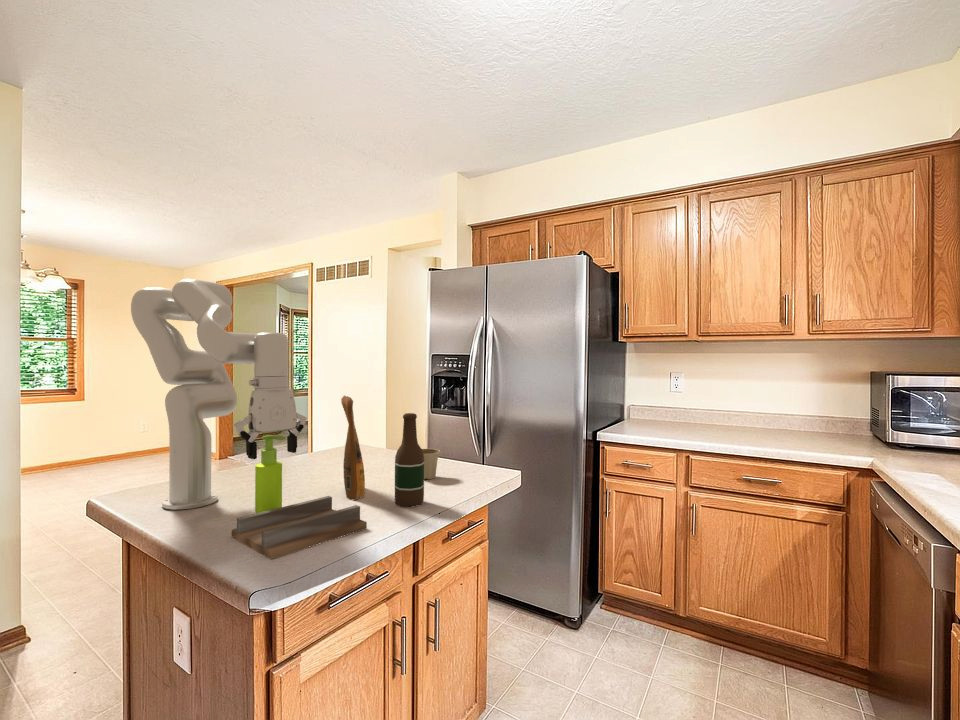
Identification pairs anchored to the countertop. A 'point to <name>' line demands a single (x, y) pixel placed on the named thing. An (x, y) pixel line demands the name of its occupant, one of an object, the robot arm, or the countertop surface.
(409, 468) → the beer bottle
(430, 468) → the flower pot
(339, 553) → the countertop surface
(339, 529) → the track board
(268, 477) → the soap dispenser
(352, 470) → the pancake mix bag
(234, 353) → the robot arm
